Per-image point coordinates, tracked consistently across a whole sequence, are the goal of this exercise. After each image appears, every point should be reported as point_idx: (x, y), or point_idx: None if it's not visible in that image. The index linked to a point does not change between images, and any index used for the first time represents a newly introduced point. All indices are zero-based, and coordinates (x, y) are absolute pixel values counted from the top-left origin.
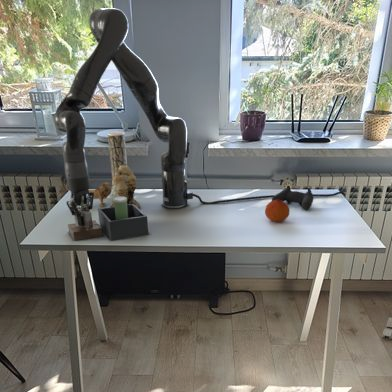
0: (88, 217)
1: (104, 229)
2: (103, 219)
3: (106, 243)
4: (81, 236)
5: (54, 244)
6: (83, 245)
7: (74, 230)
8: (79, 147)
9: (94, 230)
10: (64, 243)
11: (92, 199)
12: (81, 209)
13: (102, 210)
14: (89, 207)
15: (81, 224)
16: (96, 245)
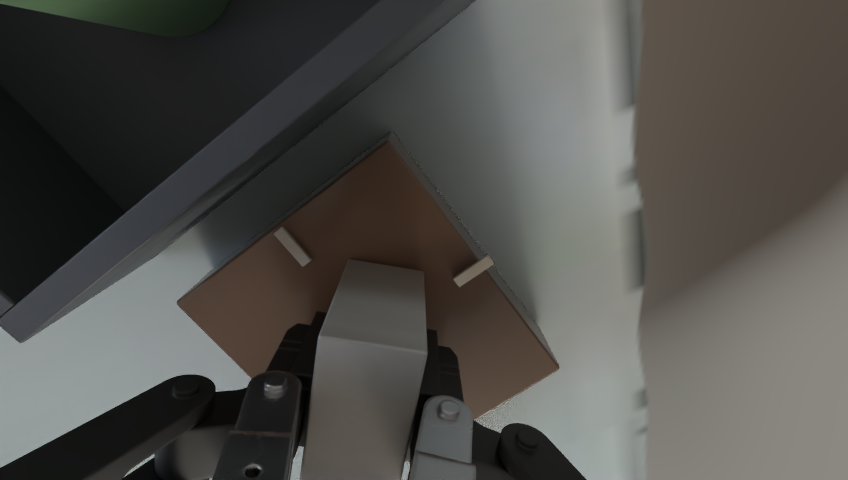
0: (408, 321)
1: (284, 150)
2: (254, 162)
3: (570, 14)
4: (510, 293)
5: (629, 432)
6: (636, 215)
7: (510, 378)
8: None
9: (438, 203)
10: (603, 375)
11: (31, 478)
12: (473, 466)
13: (12, 273)
14: (206, 417)
15: (455, 354)
16: (629, 97)
